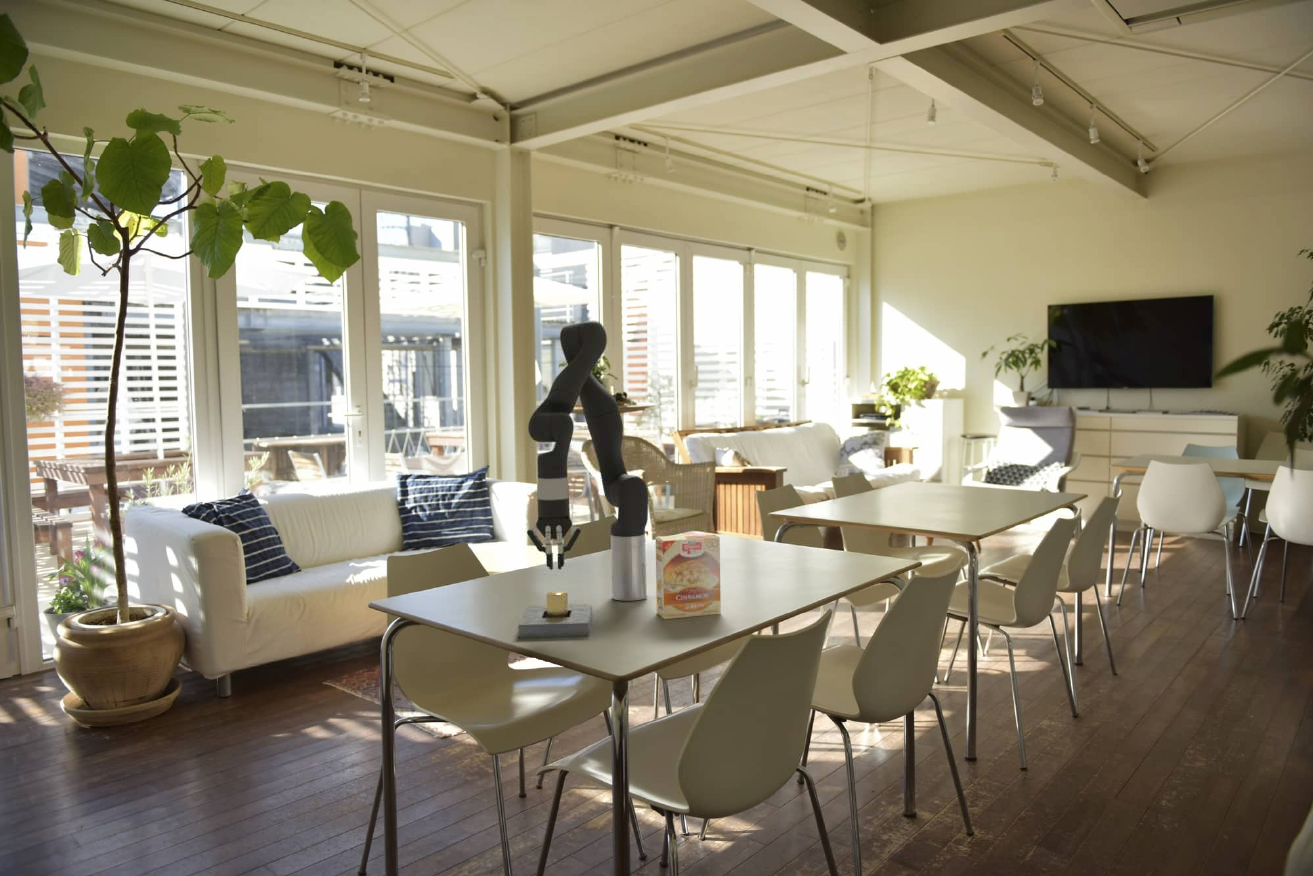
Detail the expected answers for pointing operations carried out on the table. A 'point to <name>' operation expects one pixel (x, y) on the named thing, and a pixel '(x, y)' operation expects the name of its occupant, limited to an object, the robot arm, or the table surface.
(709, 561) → the coffeecake box
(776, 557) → the table surface
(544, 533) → the robot arm
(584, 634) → the block
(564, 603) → the short tan cylinder
